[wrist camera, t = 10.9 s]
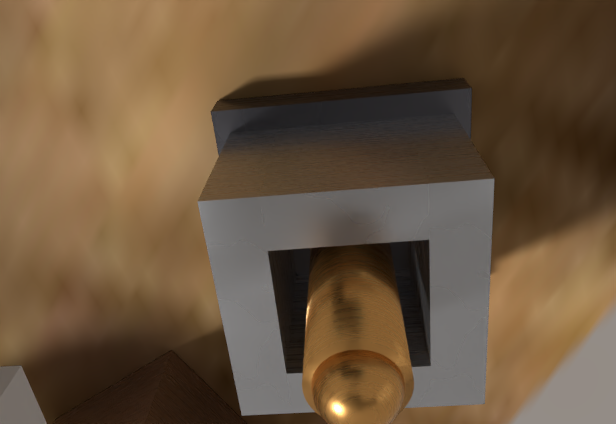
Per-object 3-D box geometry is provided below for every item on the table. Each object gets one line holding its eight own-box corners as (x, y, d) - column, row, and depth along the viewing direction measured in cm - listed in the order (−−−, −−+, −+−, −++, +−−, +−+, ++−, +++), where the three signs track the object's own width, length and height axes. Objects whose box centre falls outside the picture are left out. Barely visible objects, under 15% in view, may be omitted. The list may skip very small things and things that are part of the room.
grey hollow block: (229, 132, 19) (197, 202, 14) (454, 113, 18) (494, 178, 14) (260, 312, 22) (241, 415, 17) (452, 300, 21) (484, 404, 17)
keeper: (217, 100, 19) (115, 265, 10) (463, 78, 19) (588, 232, 10) (252, 300, 23) (200, 554, 14) (460, 287, 22) (549, 543, 13)
